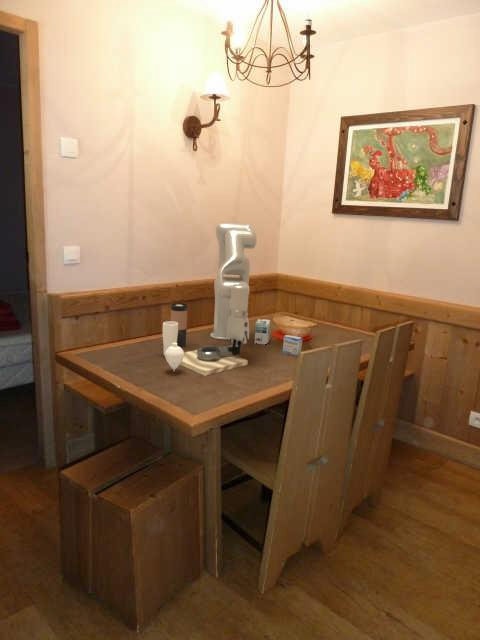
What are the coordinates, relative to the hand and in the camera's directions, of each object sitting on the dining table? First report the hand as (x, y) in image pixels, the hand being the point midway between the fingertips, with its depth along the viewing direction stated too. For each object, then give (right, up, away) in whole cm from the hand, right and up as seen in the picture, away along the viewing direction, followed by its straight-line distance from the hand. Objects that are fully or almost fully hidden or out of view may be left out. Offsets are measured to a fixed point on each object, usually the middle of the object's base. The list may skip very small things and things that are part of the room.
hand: (235, 354), depth 202 cm
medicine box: (+26, -1, +18) cm, 32 cm away
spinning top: (-25, -6, -15) cm, 30 cm away
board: (-12, -3, -2) cm, 13 cm away
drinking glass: (-30, -1, +5) cm, 30 cm away
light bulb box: (+13, +4, +37) cm, 39 cm away
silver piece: (-8, -1, 0) cm, 8 cm away
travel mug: (-28, +3, +21) cm, 35 cm away
